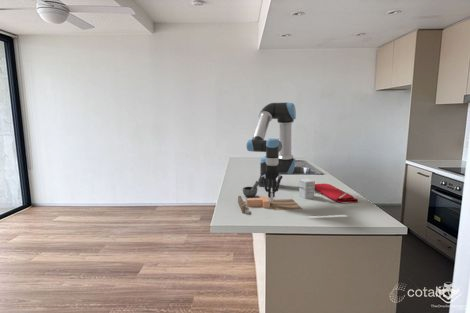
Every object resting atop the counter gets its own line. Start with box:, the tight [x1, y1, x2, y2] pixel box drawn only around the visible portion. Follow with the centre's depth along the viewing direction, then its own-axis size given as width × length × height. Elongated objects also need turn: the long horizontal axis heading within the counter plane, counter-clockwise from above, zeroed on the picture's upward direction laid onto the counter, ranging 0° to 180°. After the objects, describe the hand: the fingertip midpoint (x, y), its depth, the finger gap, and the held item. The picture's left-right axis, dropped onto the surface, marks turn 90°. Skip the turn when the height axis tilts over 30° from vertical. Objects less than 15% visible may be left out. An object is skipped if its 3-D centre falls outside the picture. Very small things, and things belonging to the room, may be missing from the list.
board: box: [237, 195, 303, 214], centre depth 178 cm, size 20×36×4 cm, turn 96°
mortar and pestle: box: [242, 180, 259, 198], centre depth 194 cm, size 11×9×12 cm
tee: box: [245, 195, 271, 209], centre depth 177 cm, size 11×13×4 cm
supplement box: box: [298, 178, 316, 200], centre depth 194 cm, size 7×7×13 cm
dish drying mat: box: [314, 183, 359, 203], centre depth 207 cm, size 16×41×4 cm, turn 9°
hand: (271, 202), depth 178 cm, fingers closed
